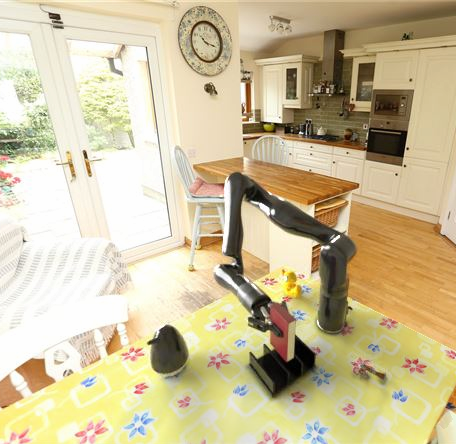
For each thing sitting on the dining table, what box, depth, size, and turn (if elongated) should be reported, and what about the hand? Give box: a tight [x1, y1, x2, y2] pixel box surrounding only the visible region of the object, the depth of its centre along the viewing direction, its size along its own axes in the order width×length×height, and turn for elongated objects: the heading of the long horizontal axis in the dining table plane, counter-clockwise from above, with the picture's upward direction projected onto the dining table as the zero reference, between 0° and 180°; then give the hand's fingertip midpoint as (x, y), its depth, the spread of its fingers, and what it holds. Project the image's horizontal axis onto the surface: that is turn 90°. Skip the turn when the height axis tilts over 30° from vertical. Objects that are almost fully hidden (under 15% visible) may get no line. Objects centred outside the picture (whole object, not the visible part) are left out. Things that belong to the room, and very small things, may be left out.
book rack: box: [248, 333, 317, 398], centre depth 84 cm, size 16×12×6 cm
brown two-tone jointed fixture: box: [355, 362, 388, 383], centre depth 82 cm, size 2×8×4 cm, turn 81°
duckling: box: [281, 269, 303, 299], centre depth 114 cm, size 11×5×10 cm, turn 39°
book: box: [269, 302, 297, 362], centre depth 80 cm, size 3×8×14 cm, turn 37°
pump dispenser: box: [146, 323, 190, 378], centre depth 81 cm, size 10×10×15 cm
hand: (286, 332), depth 78 cm, fingers closed on book, 2 cm apart
